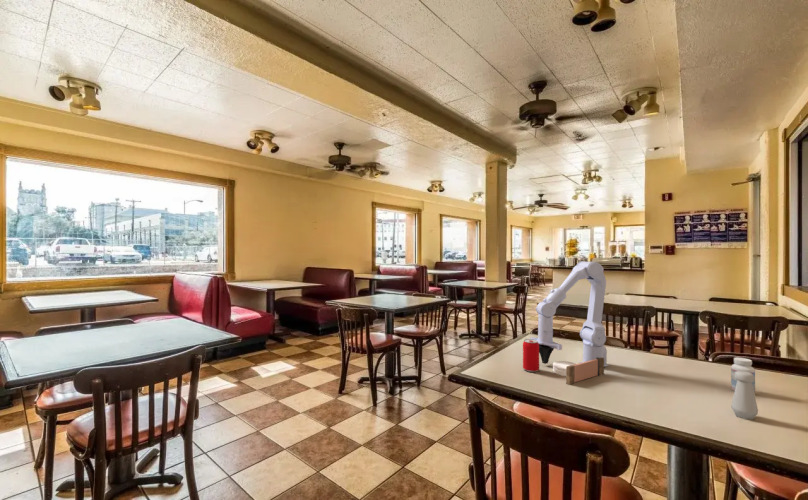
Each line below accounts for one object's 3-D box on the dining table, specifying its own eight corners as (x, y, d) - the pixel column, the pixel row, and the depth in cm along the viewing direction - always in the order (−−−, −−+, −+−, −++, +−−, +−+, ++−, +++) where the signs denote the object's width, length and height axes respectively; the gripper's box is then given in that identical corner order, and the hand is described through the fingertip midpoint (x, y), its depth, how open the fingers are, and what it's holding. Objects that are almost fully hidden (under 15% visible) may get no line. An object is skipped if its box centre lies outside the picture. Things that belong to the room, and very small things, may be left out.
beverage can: (537, 367, 147) (537, 338, 146) (540, 373, 141) (540, 342, 140) (521, 367, 148) (521, 338, 147) (524, 372, 141) (524, 342, 141)
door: (592, 373, 140) (592, 358, 140) (597, 375, 138) (597, 359, 138) (569, 380, 132) (569, 364, 132) (574, 382, 130) (575, 365, 131)
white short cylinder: (568, 379, 135) (568, 370, 135) (547, 371, 144) (547, 362, 144) (586, 375, 140) (586, 366, 140) (564, 367, 148) (564, 359, 148)
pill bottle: (748, 389, 126) (748, 357, 126) (759, 396, 120) (759, 362, 120) (727, 387, 128) (727, 355, 128) (736, 393, 122) (736, 360, 122)
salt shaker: (725, 412, 107) (725, 369, 107) (742, 411, 108) (743, 368, 108) (745, 421, 102) (745, 376, 102) (763, 421, 102) (764, 375, 102)
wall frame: (600, 373, 141) (601, 356, 141) (603, 374, 140) (604, 356, 140) (566, 383, 130) (566, 365, 130) (569, 384, 129) (569, 365, 129)
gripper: (525, 328, 154) (524, 359, 154) (554, 335, 142) (554, 369, 142) (535, 326, 158) (535, 357, 158) (565, 333, 145) (565, 366, 145)
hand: (545, 363), depth 150 cm, fingers closed
